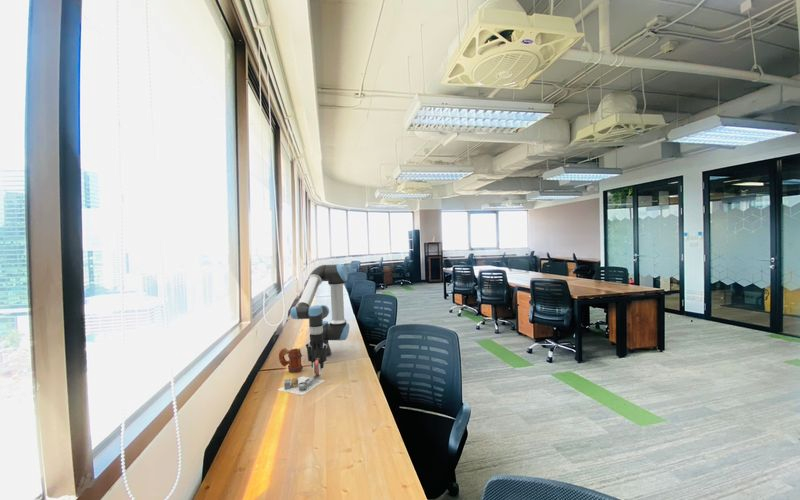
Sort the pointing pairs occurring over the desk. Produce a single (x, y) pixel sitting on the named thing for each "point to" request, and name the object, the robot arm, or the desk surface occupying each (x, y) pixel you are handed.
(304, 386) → the lever
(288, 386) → the grey rectangular block
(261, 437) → the desk surface
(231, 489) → the desk surface
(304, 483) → the desk surface
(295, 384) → the tan short cylinder
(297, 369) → the mug
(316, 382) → the bench board
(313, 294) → the robot arm
